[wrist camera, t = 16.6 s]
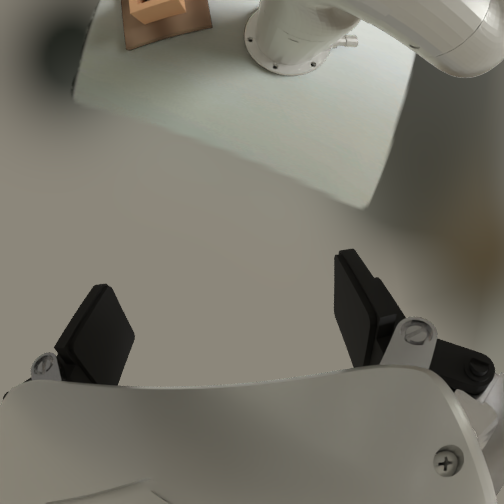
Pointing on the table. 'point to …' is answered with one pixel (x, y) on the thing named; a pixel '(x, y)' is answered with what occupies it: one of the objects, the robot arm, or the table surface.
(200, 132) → the table surface
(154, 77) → the table surface
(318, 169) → the table surface
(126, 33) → the post board
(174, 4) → the orange hollow cube
